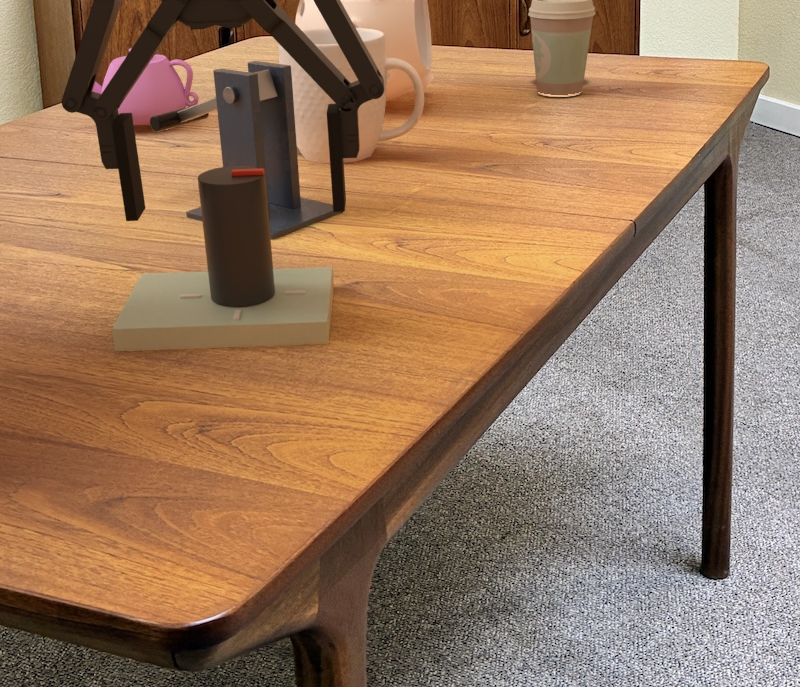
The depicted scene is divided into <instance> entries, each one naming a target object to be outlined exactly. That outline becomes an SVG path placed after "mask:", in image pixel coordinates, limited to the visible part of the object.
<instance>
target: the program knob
mask: <svg viewBox="0 0 800 687" xmlns="http://www.w3.org/2000/svg"><path fill="white" fill-rule="evenodd" d="M197 185H198V193H199V194H198V195H199V203H200V207H201V213H202V221H201V222H202V229H203V231H202V232H203V239H204V248H205V256H206V257H205V258H206V266H207V271H208V276H209V285H210V294H211V299H212V301H213V302H215V303H217V304H219V305H223V306H230V307H244V306H252V305H256V304H260V303H263V302H265V301H267V300H269V299H271V298H272V297H273V296H274V294H275V285H274V273H273V269H274V263H273V251H272V242H271V241H272V240H271V238H270V226H269V214H268V202H267V191H266V179H265V172H264V168H261V169H259V168H255V167H249V166H229V167H223V166H222V167H221V166H220V167H215V168H213V169H208V170H206V171H203V172H201V173H199V175H198V176H197Z"/></svg>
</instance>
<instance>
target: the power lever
mask: <svg viewBox="0 0 800 687" xmlns="http://www.w3.org/2000/svg"><path fill="white" fill-rule="evenodd" d="M255 73H257V74H258V84H259V96H260V103H261V102H264V101H267V100H269V99H272V98H275V97H277V96H278V95H277V92H276V89H275V86H274V83H273V80H272V77H271V74H270V71H269V69H267V70H263V71H259V72H255ZM214 111H215V112H216V111H217V102H216V96H215V97H212V98H210V99H207V100H205V101H202V102H198V104H197V105H194V106H191V107H188V106H186V107H185V108H183V109H179V110H175V111H171V112H167V113H164V114H160V115H156V116H152V117H151V118H150V125H149V126H150V128H151V130H152V131H153V132H156V133H158V132H163V131H162V130H166V129H170V128H171V129H173V128H177V127H180V126H184V125H189V124H192V123H195V122H199V121H203V120H207V119H208V118H209V116H210V113H213V112H214ZM171 129H170V130H171Z"/></svg>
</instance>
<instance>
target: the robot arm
mask: <svg viewBox="0 0 800 687" xmlns="http://www.w3.org/2000/svg"><path fill="white" fill-rule="evenodd" d="M122 1H123V0H93V1H92V6H91V8H90V11H89V15H88V17H87V21H86V23H85V27H84V30H83V33H82V36H81V39H80V42H79V45H78V47H77V48H78V49H77V52H76V54H75V57H74V60H73V63H72V67H71V70H70V73H69V77H68V79H67V83H66V86H65V89H64V92H63V94H62V98H61V106H62V108H63V109H64V111H66V112H68V113H71V114H74V113H78V114H81V115H84V116H87V117H89V118H90V119H91V120H93V122H94V125H95V129H96V134H97V142H98V147H99V153H100V160H101V163H102V165H103V167H104V168H105V170H118V176H119V182H120V183H119V184H120V189H121V190H120V191H121V195H122V203H123V208H124V215H125V222H138V221H139V219H140V218H141V216H142V214H143V213H144V212H145V210H146V201H145V195H144V188H143V187H144V186H143V180H142V174H141V173H142V172H141V167H140V161H139V160H140V159H139V153H138V146H137V139H136V138H137V137H136V133H135V132H136V130H135V125H134V124H133V117H132V113H120V114H119V113H118V109H119V108H120V105H121V104H122V102H123V101H124V99H125V98H126V96H127V95H128V93H129V92H130V91H131V89H132V88H133V86H134V85H135V83H136V82H137V80H138V79H139V77H140V76H141V74H142V73H143V71H144V70H145V68H146V67H147V65H148V64H149V62H150V61H151V59H152V58H153V57H154V55H155V54H156V53H157V52H158V51H159V49H160V48H161V46H162V44H163V43H164V42H165V41H166V39H167V37H168V36H169V34H170V33H171V32H172V30H173V29H174V28H175V26H176V25H177V24H178V22H179V23H180V24H182V25H183V26H185V27H188V28H190V31H193V30H205V29H208V28H211V27H214V26H219V27H223V28H228V29H236V28H237V29H239V28H242V27H243V26H245V25H247V24H249V23H250V22H251V21H252V20H254V21H255V23H257V24H258V25H259V26H260V28H261V29H262V30H264V32H266V33H267V34H269V35H270V36H271V38H273V39H274V40H275V41H276V43H277V44H278V43H279V44H280V45H281V46H282V47H283V48H284V49H285V50H286V52H287V53H288V54H289V55H290V56H291V57H292V58H293V59H294V60H295V61H296V62H297V63H298V64H299V65H300V66H301V67H302V68H303V69H304V71H305V72H306V73H307V74H308V75H309V76H310V77H311V78H312V79H313V80H314V81H315V82H316V83H317V84H318V85H319V86H320V87H321V88H322V89H323V91H324V92H325V93H326V94H327V95H328V96H329V97H330V98H331V99H332V100H333V101H334V102H335V103H336V104H328V109H327V126H328V140H329V155H330V164H329V168H330V182H331V197H332V204H333V212H343V213H344V212H346V202H347V193H346V180H345V163H344V161H343V158H357V156H358V153H359V148H360V142H359V124H358V109H359V107H360V106H361V105H362V104H363V103H365V102H367V101H369V100H372V99H378V98H380V97H381V96H382V95H383V93H384V79H383V77H382V75H381V73H380V71H379V69H378V68H377V66H376V64H375V62H374V60H373V59H372V57H371V55H370V53H369V51H368V50H367V48H366V46H365V44H364V42H363V41H362V39H361V37H360V35H359V33H358V32H357V30H356V28H355V26H354V24H353V22H352V21H351V19H350V17H349V15H348V13H347V12H346V10H345V8H344V6H343V4H342V3H341V1H340V0H314V2H315V4H316V6H317V8H318V9H319V11H320V13H321V15H322V17H323V18H324V20H325V22H326V24H327V25H328V27H329V29H330V31H331V32H332V34H333V36H334V38H335V40H336V41H337V43H338V45H339V47H340V48H341V50H342V52H343V54H344V56H345V57H346V59H347V61H348V63H349V64H350V66H351V68H352V70H353V72H354V73H355V75H356V77H357V79H358V80H357V81H355V82H353V83H350V82H349V81H348V80H347V78H346V77H345V76H344V75H343V74H342V73H341V72H340V71H339V70H338V69H337V68H336V67H335V66H334V65H333V63H332V62H331V61H330V60H329V59H328V58H327V57H326V56H325V55H324V54H323V53H322V52H321V51H320V50H319V49H318V47H317V46H316V45H315V44H314V43H313V42H312V41H311V40H310V39H309V38H308V37H307V36H306V35H305V34H304V32H303V31H302V30H301V29H300V28H299V27H298V26H297V25H296V24H295V22H294V20H292V18H291V17H290V16H289V15H288V14H287V12H286V10H285V9H284V8H283V7H282V5H280V4H279V3H278V1H276V0H160V2H161V3H160V4H159V5H158V7H157V9H156V10H155V11H154V13H153V15H152V16H151V18H150V19H149V21H148V23H147V24H146V26H145V28H144V29H143V31H142V32H141V34H140V35H139V37H138V39H137V40H136V42H135V43H134V44H133V46H132V47H131V48H132V49H131V50H130V52H129V51H128V54H127V55H125V56H126V58H125V59H124V61H123V62H122V64H121V65H120V67H119V68H118V70H117V71H116V73H115V74H114V76H113V77H112V79H111V80H110V82H109V83H108V85H107V86H106V88H105V89H104V91H103V92H102V94H99V93H96V92H93V91H92V90H93V87H94V84H95V81H96V82H97V78H98V74H99V71H100V69H101V65H102V63H103V60H104V56H105V54H106V51H107V48H108V44H109V41H110V39H111V36H112V33H113V29H114V26H115V24H116V21H117V18H118V14H119V12H120V9H121V5H122Z"/></svg>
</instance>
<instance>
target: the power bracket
mask: <svg viewBox="0 0 800 687" xmlns="http://www.w3.org/2000/svg"><path fill="white" fill-rule="evenodd" d="M267 69H269V71H270V74H271V77H272V80H273V83H274V86H275V89H276V92H277V95H278V96H277V97H275V98H272V99H269V100H267V101H264V102H261V103H260V96H259V84H258V74H257V73H255V72H259V71H263V70H267ZM212 72H213V82H214V91H215V97H216V102H217V110H216V111H217V120H218V130H219V141H220V150H221V160H222V161H221V162H222V167H229V166H249V167H255V168H259V169H261V168H264V172H265V179H266V191H267V202H268V214H269V226H270V238H271V241H274V240H277V239H279V238H282V237H284V236H287V235H289V234H291V233H292V234H293V233H294V232H297V231H300V230H302V229H305V228H307V227H310V226H313V225H315V224H318V223H320V222H322V221H326V220H327V219H331V218H332V217H335V216H338V215H341V214H343V213H344V212H333V203H332V204H331V203H327V202H324V201H319V200H314V199H309V198H306V197H301V187H300V173H299V159H298V147H297V143H296V129H295V115H294V101H293V87H292V73H291V66H290V65H283V64H279V63H276V62H267V61H259V60H253V61H248V62H247V71H242V70H236V69H227V68H218V69H214V70H213V71H212ZM185 213H186V218H188V219H192V220H196V221H199V222H202V213H201V206H199V207H196V208H194V209H191V210H187V211H186V212H185Z"/></svg>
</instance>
